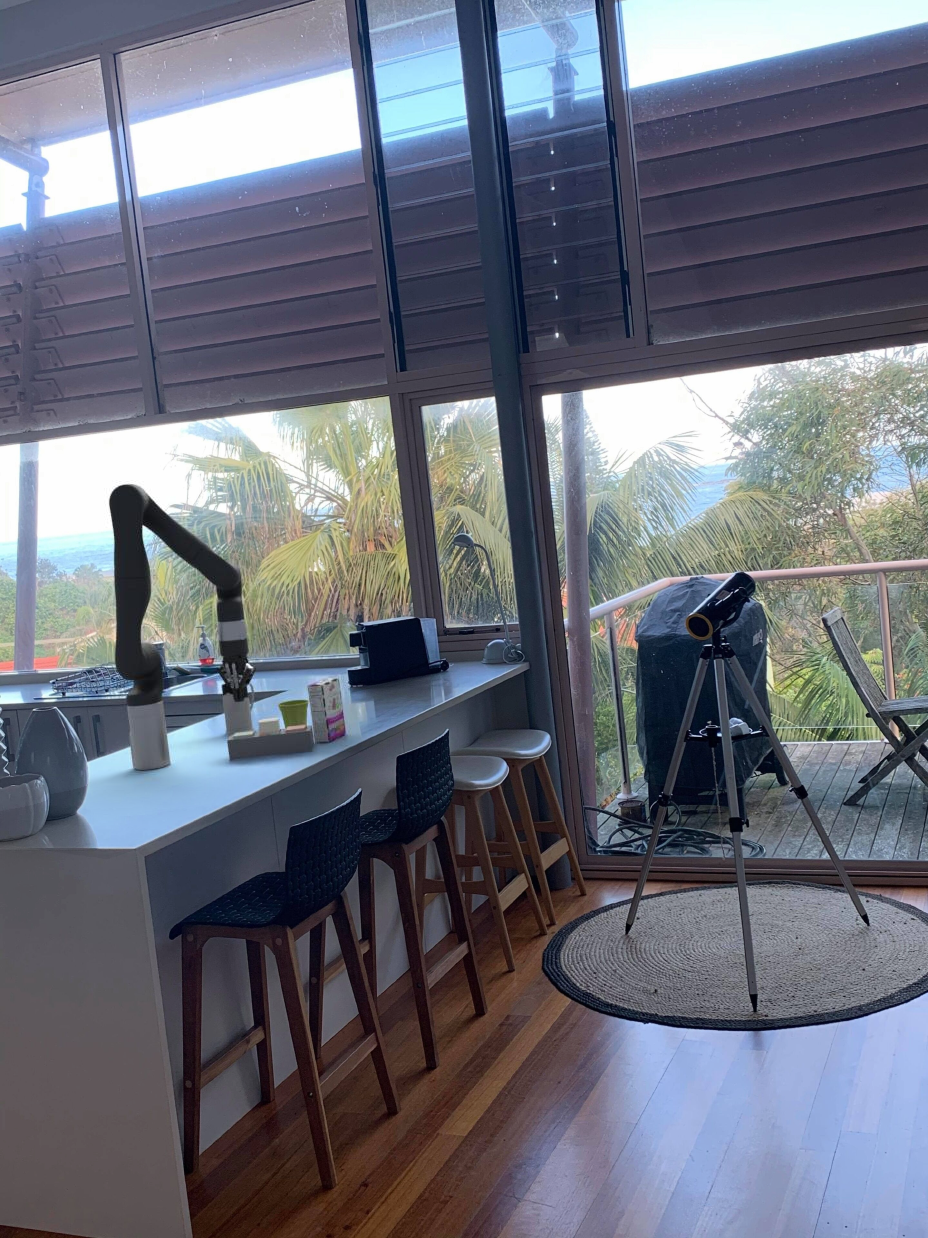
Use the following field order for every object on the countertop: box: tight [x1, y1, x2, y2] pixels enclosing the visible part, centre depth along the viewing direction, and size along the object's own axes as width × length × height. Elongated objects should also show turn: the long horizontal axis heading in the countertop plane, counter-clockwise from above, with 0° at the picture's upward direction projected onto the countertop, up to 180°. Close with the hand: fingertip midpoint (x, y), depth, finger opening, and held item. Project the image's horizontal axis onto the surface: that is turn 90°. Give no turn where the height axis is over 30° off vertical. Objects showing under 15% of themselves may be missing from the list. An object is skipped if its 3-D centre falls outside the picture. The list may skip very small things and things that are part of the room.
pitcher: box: [221, 682, 255, 736], centre depth 349 cm, size 9×14×15 cm, turn 158°
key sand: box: [257, 716, 281, 735], centre depth 307 cm, size 5×5×5 cm
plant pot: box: [277, 699, 310, 729], centre depth 338 cm, size 9×9×9 cm
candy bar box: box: [307, 677, 347, 744], centre depth 319 cm, size 11×5×16 cm, turn 161°
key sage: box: [233, 730, 255, 739], centre depth 307 cm, size 5×5×5 cm
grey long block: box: [226, 724, 315, 762], centre depth 307 cm, size 22×8×6 cm, turn 94°
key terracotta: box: [286, 725, 306, 733], centre depth 308 cm, size 5×5×5 cm
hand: (239, 701), depth 306 cm, fingers closed
